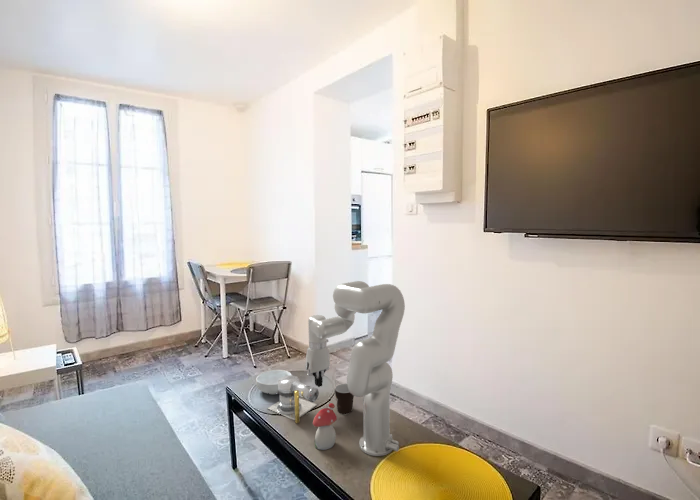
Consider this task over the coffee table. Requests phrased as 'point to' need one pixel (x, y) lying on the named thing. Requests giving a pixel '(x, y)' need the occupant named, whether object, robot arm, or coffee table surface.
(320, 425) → the decorative ornament
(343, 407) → the coffee mug
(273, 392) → the cereal bowl
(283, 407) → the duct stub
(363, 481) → the coffee table surface
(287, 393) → the elbow
